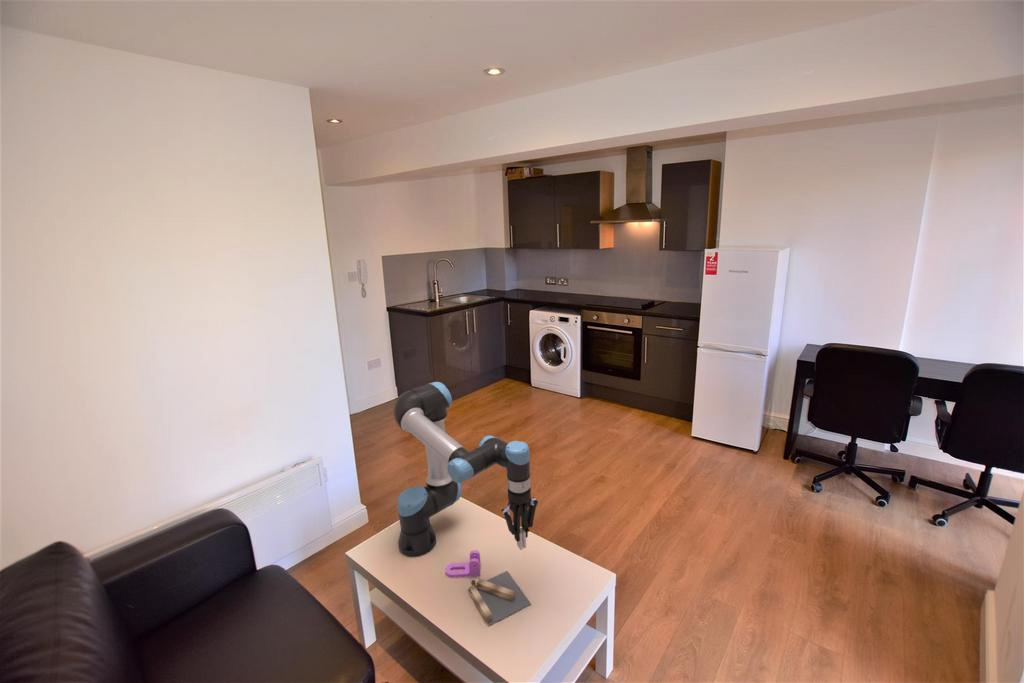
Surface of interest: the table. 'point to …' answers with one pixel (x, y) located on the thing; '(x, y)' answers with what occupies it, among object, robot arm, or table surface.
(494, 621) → the mat
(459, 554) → the table surface
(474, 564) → the bracket
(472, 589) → the tongs base
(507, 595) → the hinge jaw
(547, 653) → the table surface
